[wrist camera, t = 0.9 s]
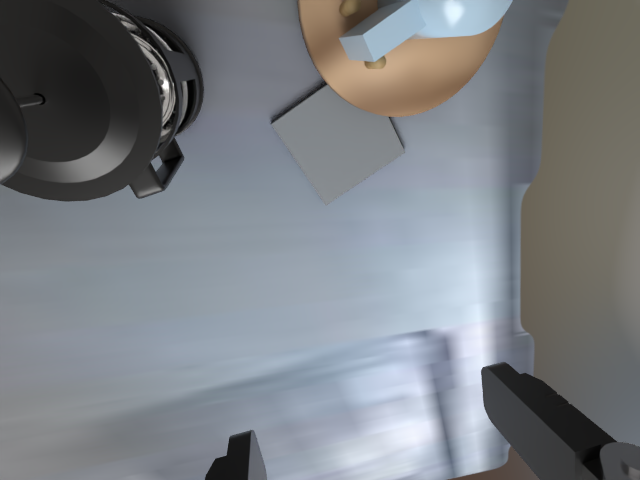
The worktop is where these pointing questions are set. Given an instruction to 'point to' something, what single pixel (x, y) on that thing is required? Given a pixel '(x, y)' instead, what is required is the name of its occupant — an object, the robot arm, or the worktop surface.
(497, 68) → the worktop surface
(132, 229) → the worktop surface
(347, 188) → the slate mat
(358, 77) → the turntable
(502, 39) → the worktop surface
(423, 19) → the pale blue carafe
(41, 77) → the french press
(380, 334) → the worktop surface
